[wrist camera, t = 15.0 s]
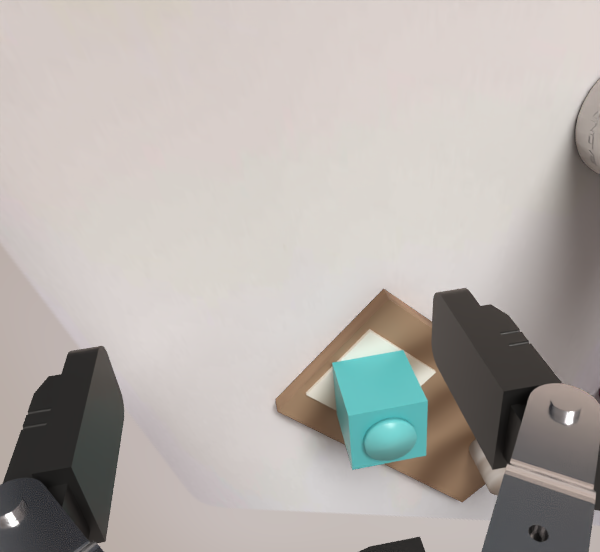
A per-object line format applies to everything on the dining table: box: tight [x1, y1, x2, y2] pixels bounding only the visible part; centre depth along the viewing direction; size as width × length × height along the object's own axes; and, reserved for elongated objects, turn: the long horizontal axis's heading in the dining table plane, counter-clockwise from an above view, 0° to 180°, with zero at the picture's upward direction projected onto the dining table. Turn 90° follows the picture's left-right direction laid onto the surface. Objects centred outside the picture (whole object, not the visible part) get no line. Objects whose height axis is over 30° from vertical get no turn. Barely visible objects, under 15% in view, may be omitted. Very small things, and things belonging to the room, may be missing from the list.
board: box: [276, 289, 506, 502], centre depth 51 cm, size 25×14×6 cm, turn 51°
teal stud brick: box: [332, 350, 428, 470], centre depth 46 cm, size 6×6×7 cm
